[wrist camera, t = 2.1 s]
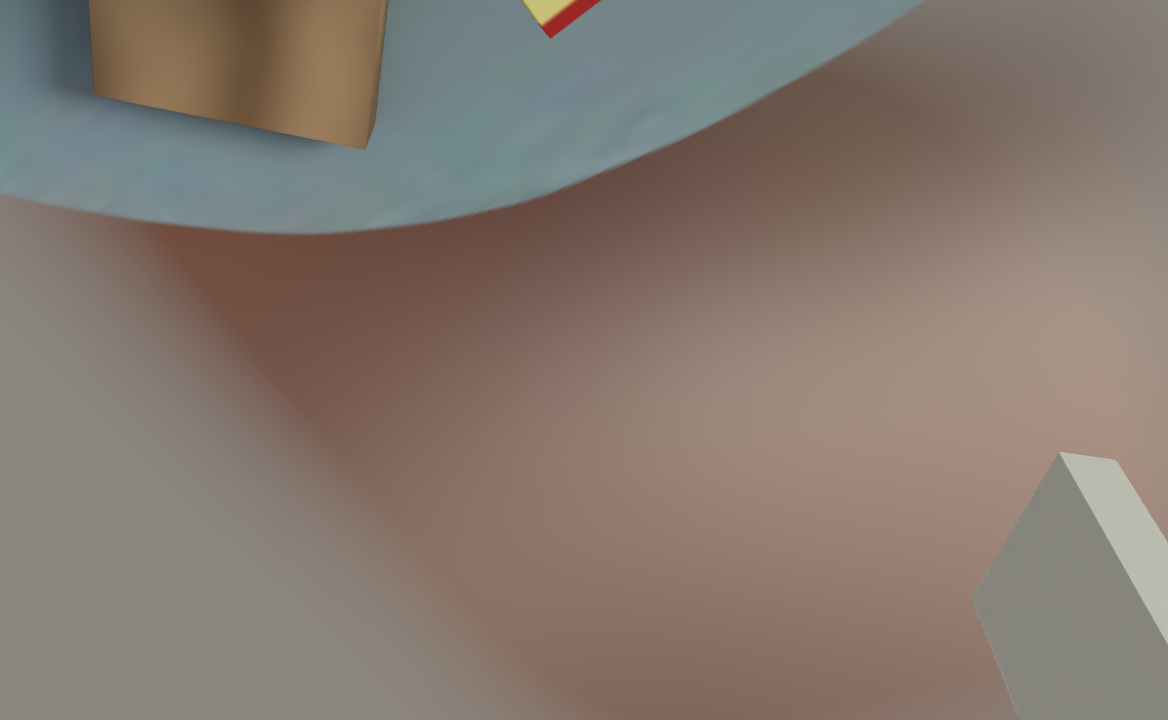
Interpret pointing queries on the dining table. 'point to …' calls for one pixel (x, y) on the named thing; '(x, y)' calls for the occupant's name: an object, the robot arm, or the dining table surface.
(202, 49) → the plinth
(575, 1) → the baking soda box
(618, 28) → the dining table surface
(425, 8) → the dining table surface
